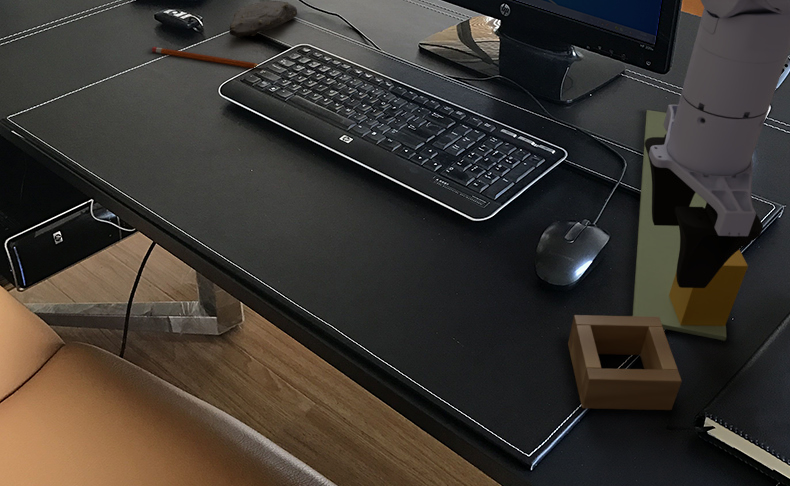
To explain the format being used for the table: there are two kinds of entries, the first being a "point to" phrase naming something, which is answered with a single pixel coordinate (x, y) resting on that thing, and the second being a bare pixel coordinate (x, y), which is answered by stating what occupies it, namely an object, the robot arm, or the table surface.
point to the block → (710, 295)
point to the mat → (660, 253)
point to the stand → (623, 385)
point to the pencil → (204, 57)
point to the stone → (261, 17)
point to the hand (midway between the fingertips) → (677, 252)
